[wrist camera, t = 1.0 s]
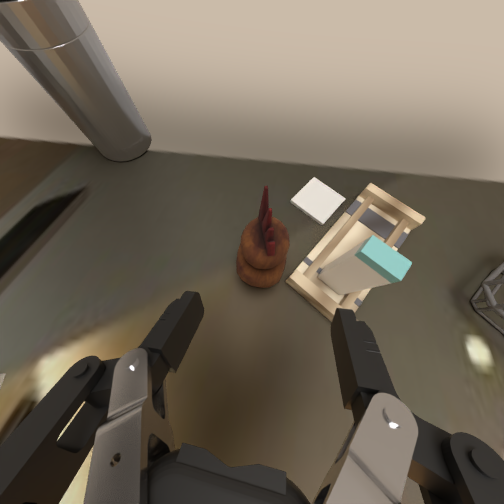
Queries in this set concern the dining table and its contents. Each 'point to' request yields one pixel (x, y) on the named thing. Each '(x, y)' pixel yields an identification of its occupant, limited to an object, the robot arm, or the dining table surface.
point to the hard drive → (2, 378)
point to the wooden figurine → (263, 248)
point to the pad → (317, 201)
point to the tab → (365, 267)
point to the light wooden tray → (352, 246)
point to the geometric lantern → (490, 296)
